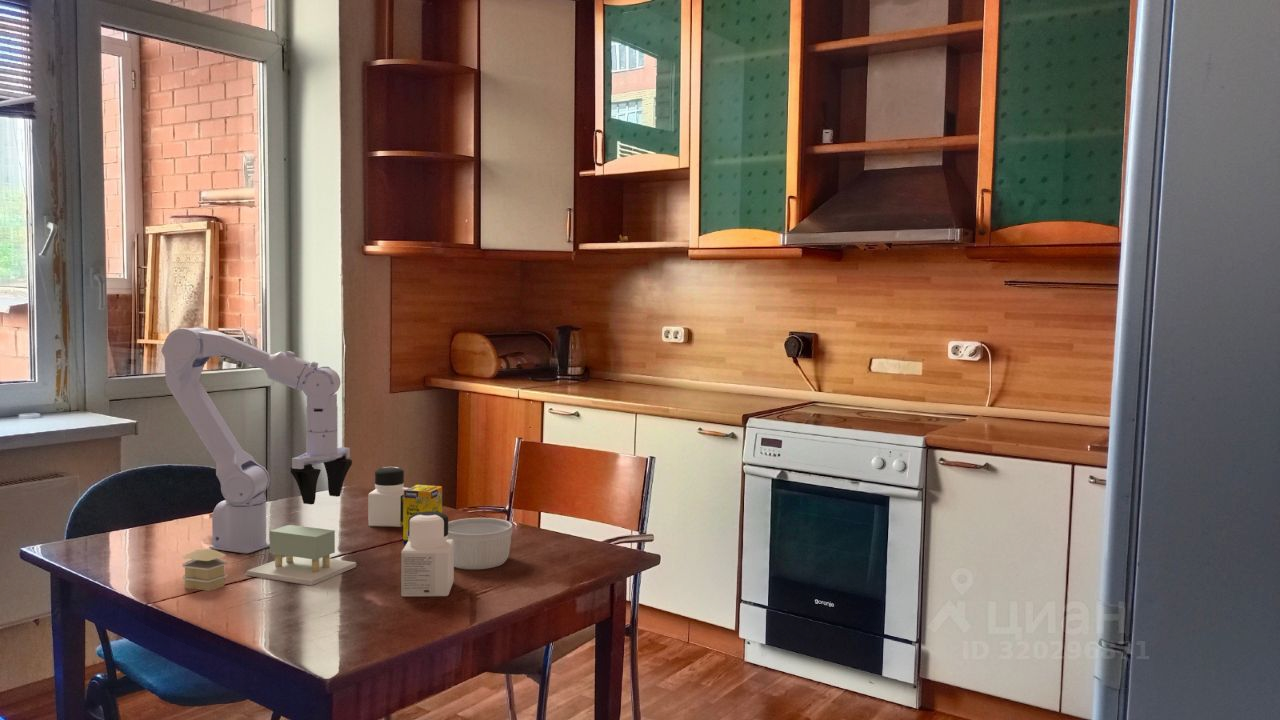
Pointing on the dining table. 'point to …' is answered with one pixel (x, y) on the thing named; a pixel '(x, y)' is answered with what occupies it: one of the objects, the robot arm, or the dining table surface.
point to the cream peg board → (301, 569)
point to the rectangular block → (302, 542)
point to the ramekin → (480, 542)
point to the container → (427, 556)
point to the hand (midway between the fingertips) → (322, 499)
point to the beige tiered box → (204, 570)
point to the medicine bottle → (387, 498)
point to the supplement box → (420, 503)
